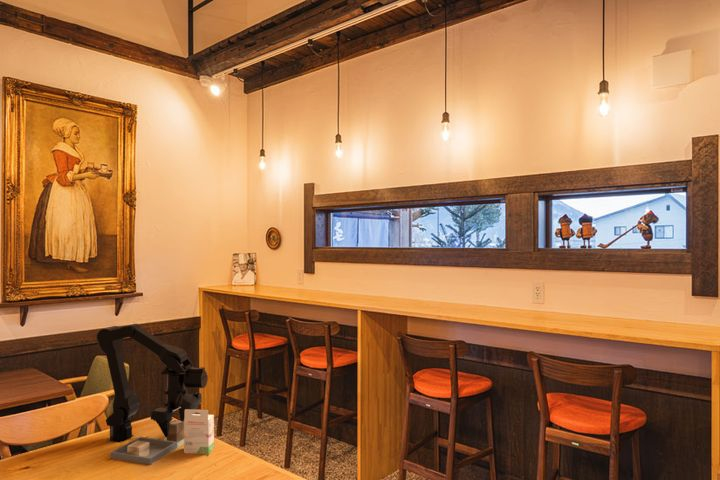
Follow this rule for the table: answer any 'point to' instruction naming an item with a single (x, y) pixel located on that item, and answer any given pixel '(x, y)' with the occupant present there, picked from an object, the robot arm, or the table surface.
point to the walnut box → (176, 431)
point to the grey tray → (156, 451)
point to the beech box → (138, 448)
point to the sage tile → (178, 442)
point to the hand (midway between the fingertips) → (175, 431)
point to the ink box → (198, 432)
